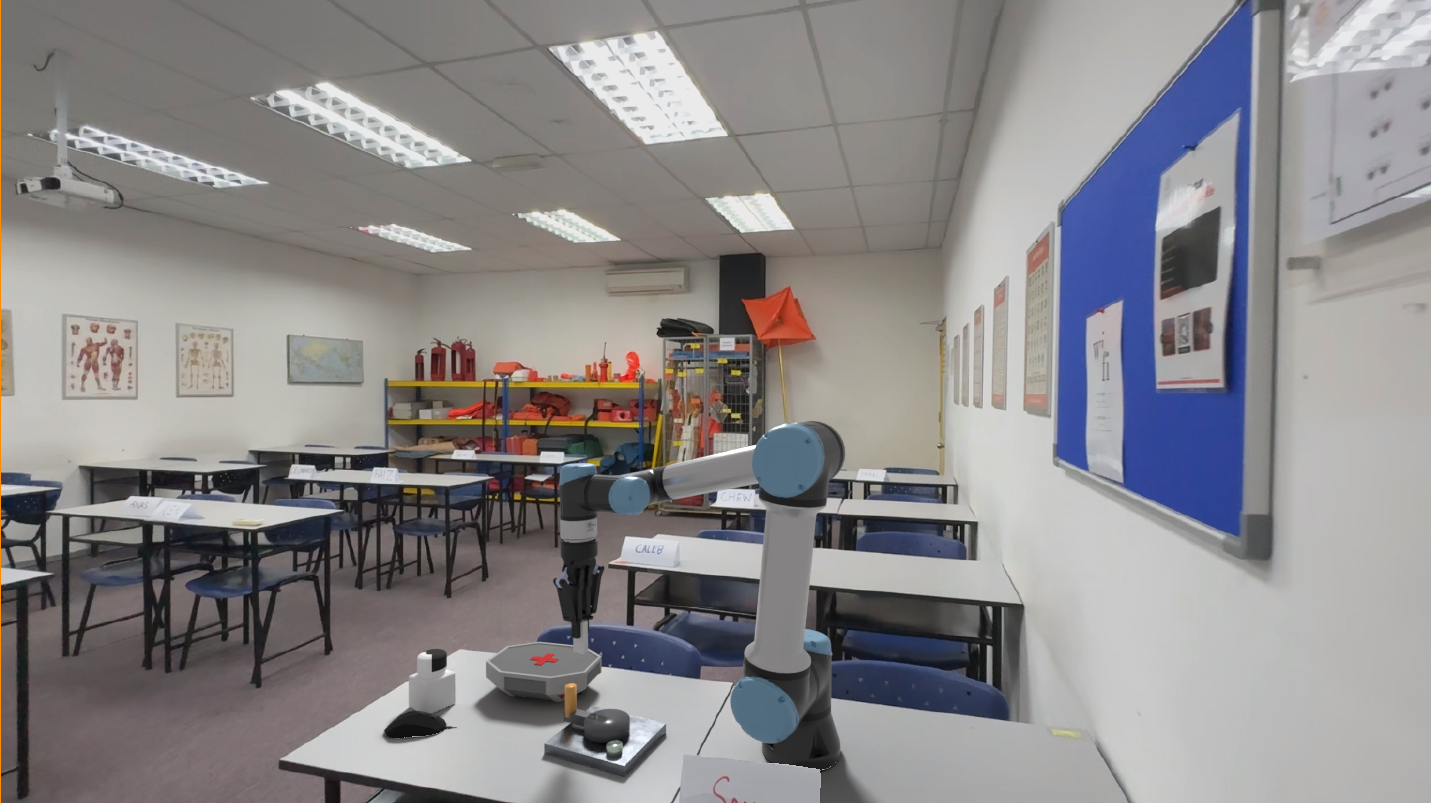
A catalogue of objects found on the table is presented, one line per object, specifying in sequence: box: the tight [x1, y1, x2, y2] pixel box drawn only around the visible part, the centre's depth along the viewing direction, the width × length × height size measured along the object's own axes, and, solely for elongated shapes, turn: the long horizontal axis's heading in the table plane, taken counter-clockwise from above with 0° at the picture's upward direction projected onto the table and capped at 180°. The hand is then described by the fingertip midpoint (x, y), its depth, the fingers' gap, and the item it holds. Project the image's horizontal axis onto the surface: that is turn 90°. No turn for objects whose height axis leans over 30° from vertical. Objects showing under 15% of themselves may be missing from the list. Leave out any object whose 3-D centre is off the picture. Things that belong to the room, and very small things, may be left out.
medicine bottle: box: [408, 648, 457, 714], centre depth 140 cm, size 7×7×12 cm
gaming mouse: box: [383, 710, 458, 740], centre depth 130 cm, size 6×15×4 cm, turn 96°
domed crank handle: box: [563, 683, 630, 743], centre depth 126 cm, size 15×9×7 cm, turn 64°
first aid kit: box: [485, 641, 603, 703], centre depth 147 cm, size 18×8×25 cm
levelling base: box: [543, 705, 667, 778], centre depth 125 cm, size 18×16×3 cm
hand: (580, 651), depth 131 cm, fingers closed
